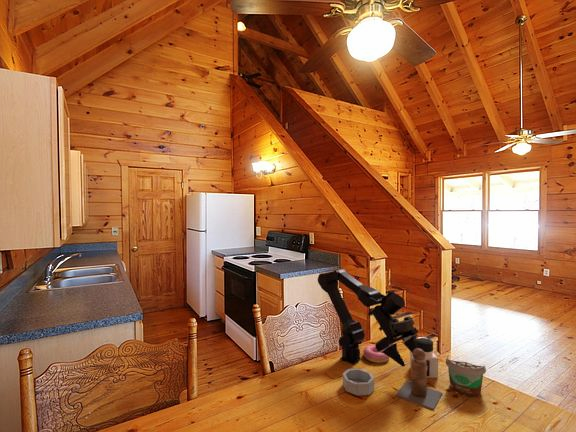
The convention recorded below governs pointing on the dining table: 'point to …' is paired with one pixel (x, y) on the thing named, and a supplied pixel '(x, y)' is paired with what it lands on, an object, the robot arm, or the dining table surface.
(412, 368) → the pepper mill
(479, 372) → the food container
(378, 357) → the doughnut
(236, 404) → the dining table surface
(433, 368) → the container
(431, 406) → the mat
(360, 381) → the bowl
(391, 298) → the robot arm
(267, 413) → the dining table surface
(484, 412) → the dining table surface
